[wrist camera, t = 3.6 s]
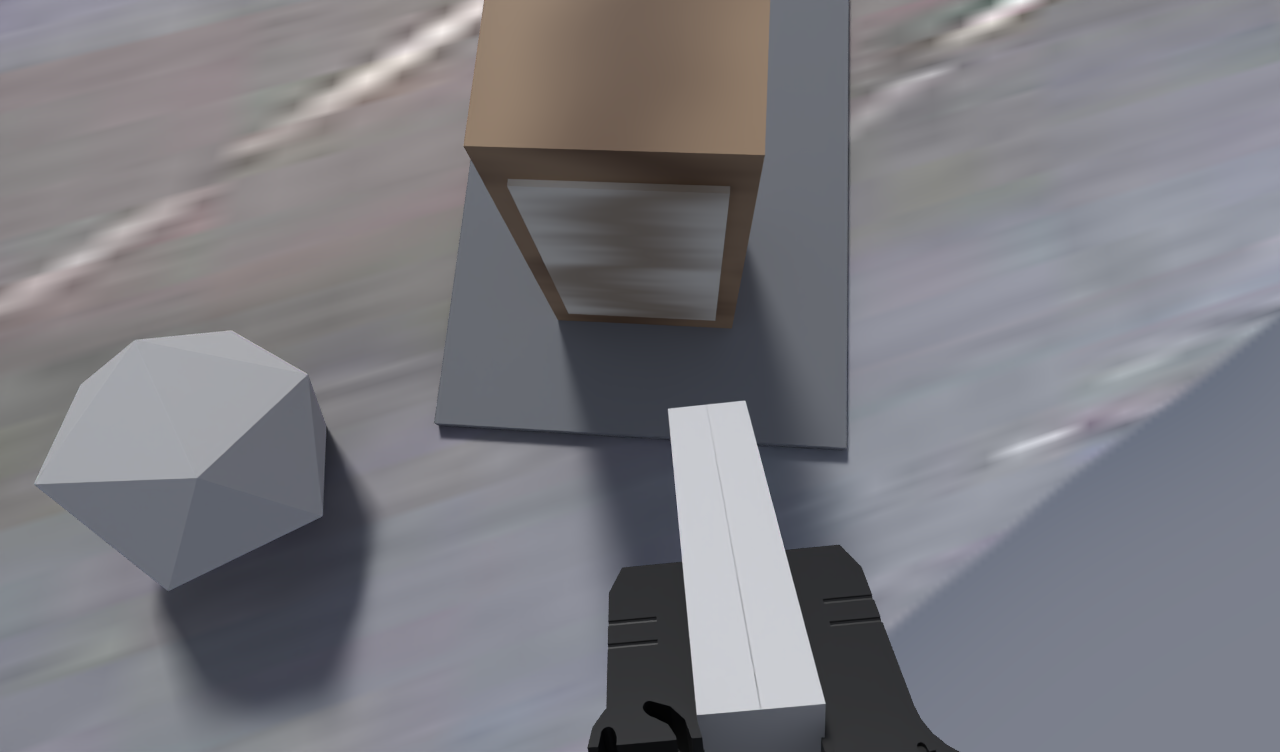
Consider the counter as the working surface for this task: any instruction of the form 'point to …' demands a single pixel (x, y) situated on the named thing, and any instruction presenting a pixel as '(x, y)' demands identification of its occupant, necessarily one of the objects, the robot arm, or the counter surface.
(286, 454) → the die
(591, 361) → the mat
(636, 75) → the label block
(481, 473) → the counter surface
